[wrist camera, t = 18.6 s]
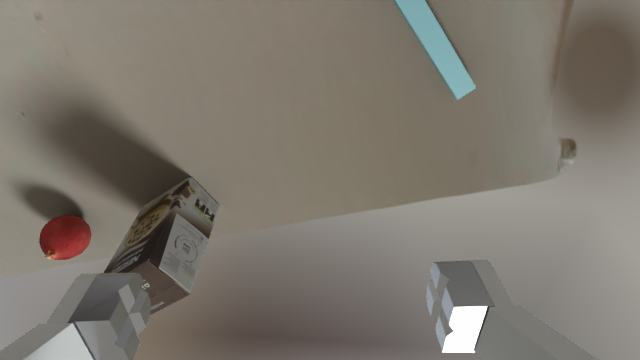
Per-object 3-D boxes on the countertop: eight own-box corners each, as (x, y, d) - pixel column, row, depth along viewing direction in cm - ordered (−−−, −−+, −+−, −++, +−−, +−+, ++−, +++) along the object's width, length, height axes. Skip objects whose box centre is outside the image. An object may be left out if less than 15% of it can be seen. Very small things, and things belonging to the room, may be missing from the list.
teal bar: (468, 80, 47) (476, 87, 45) (451, 92, 47) (457, 100, 45) (353, -115, 36) (356, -118, 34) (332, -95, 37) (334, -97, 35)
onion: (105, 235, 57) (78, 276, 51) (65, 234, 57) (32, 275, 50) (95, 204, 54) (65, 242, 47) (52, 202, 54) (16, 241, 47)
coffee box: (189, 174, 52) (148, 259, 38) (221, 206, 55) (193, 295, 41) (141, 204, 54) (86, 294, 41) (174, 233, 58) (133, 326, 44)
